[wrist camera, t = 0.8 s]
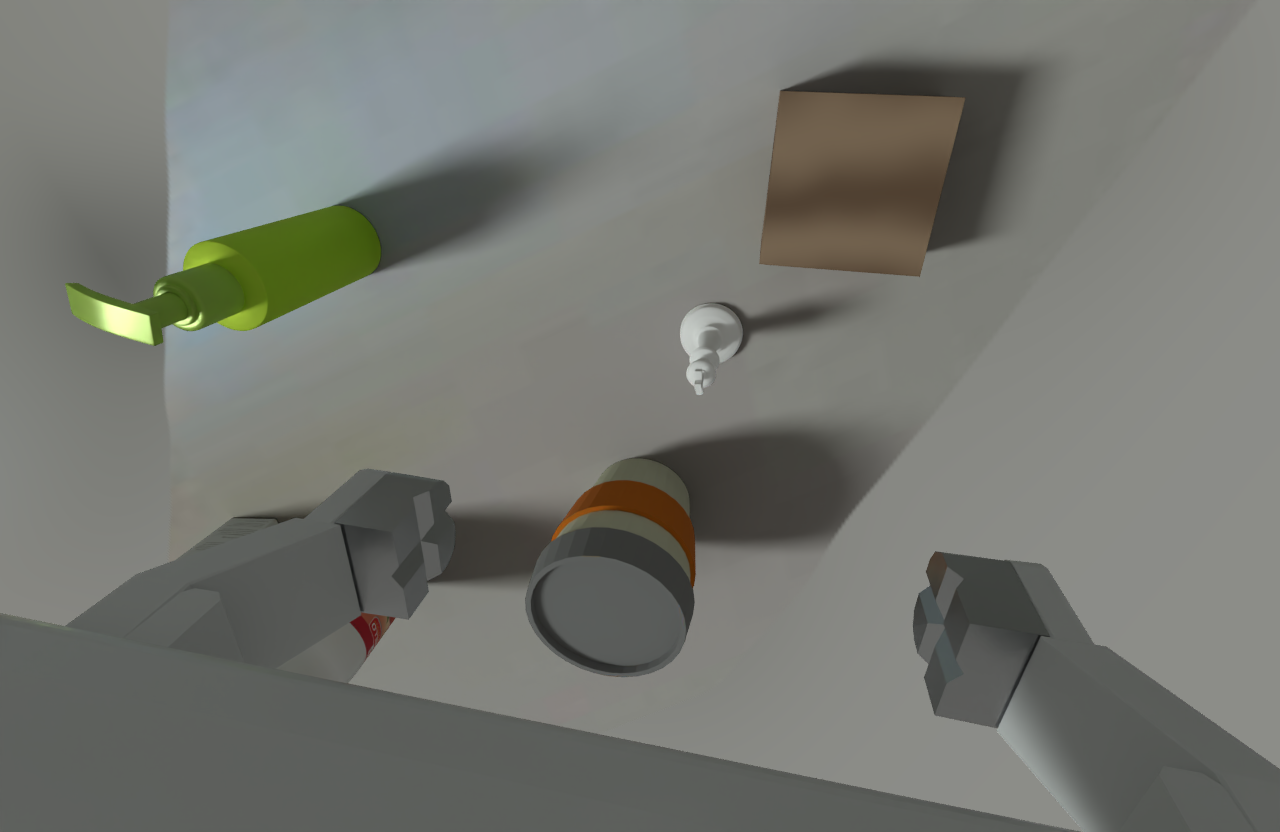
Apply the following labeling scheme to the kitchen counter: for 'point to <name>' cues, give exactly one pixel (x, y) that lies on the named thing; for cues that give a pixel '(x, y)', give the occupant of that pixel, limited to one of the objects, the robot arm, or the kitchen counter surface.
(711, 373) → the chess piece
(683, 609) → the reusable coffee cup
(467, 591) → the kitchen counter surface
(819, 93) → the walnut block
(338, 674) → the fruit juice
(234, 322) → the soap dispenser
